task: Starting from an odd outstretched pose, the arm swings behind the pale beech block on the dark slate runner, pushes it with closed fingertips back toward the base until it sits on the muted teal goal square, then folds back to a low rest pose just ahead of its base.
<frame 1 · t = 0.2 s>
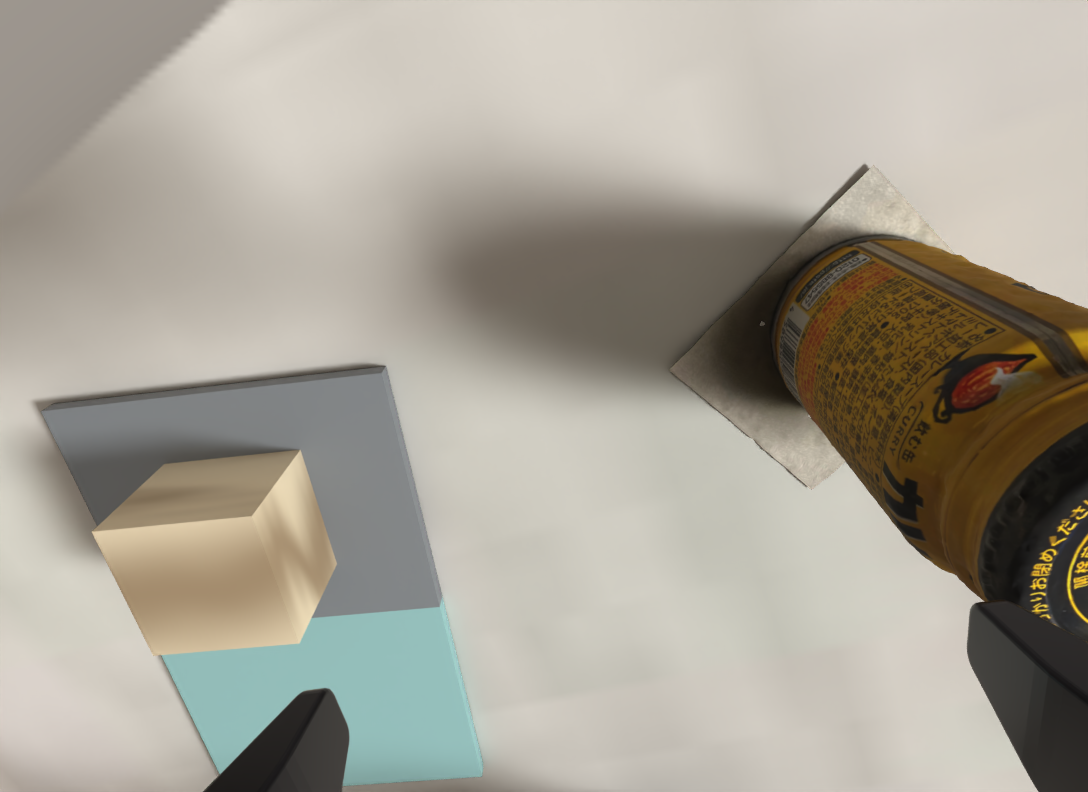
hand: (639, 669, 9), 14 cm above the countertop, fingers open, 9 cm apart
beech block: (253, 515, 24), point 1 cm above the countertop, touching runner mat
runner mat: (297, 609, 27), on the countertop
condiment: (834, 340, 22), on the countertop
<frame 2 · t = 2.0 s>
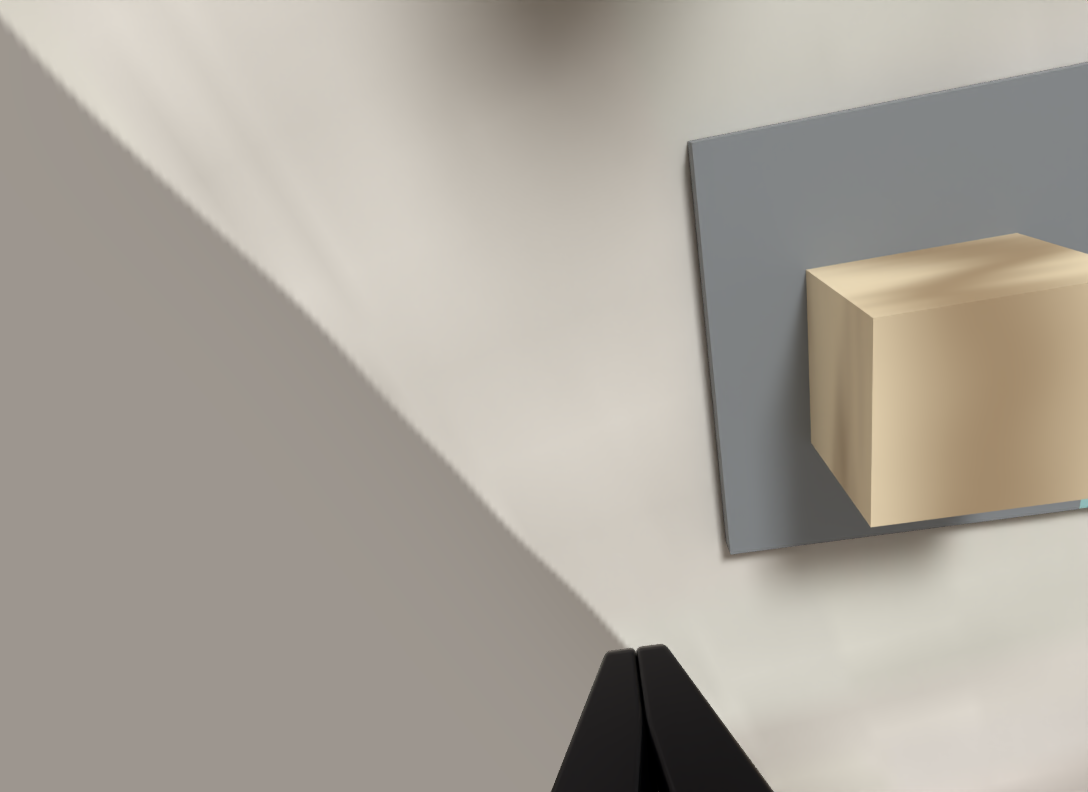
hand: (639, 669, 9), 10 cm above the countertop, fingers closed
beech block: (906, 345, 17), point 1 cm above the countertop, touching runner mat
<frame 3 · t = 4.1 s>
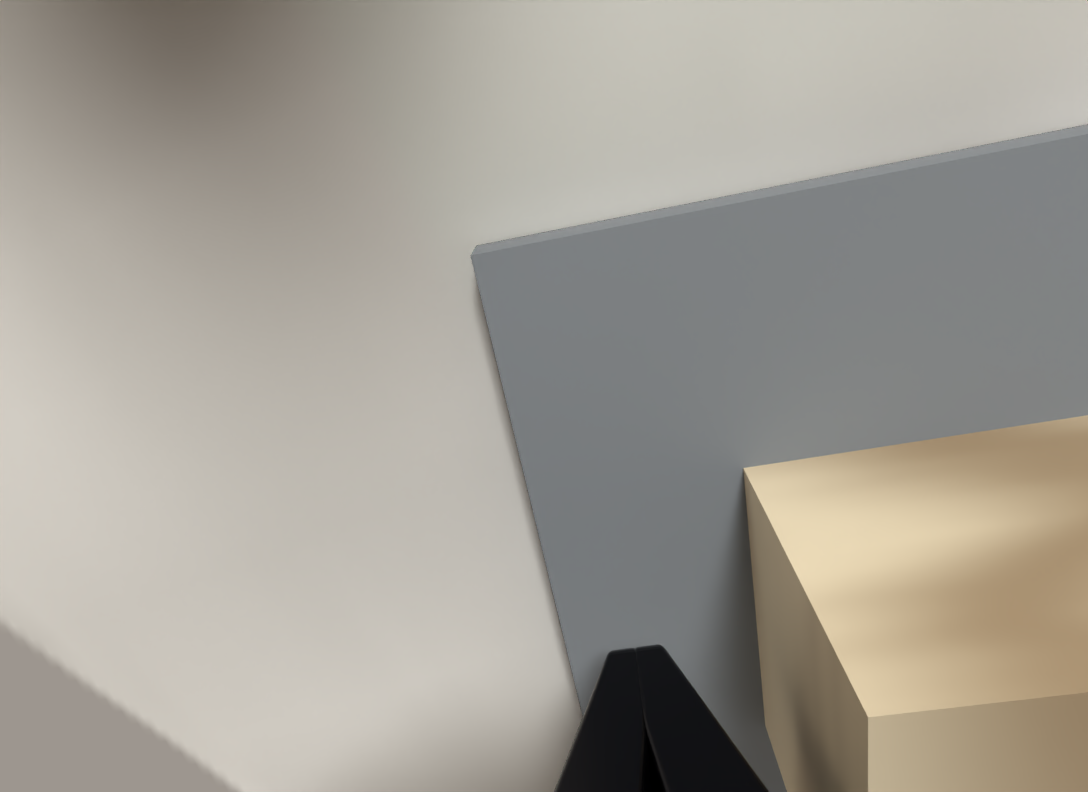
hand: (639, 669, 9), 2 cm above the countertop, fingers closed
beech block: (926, 586, 10), point 1 cm above the countertop, touching gripper, runner mat
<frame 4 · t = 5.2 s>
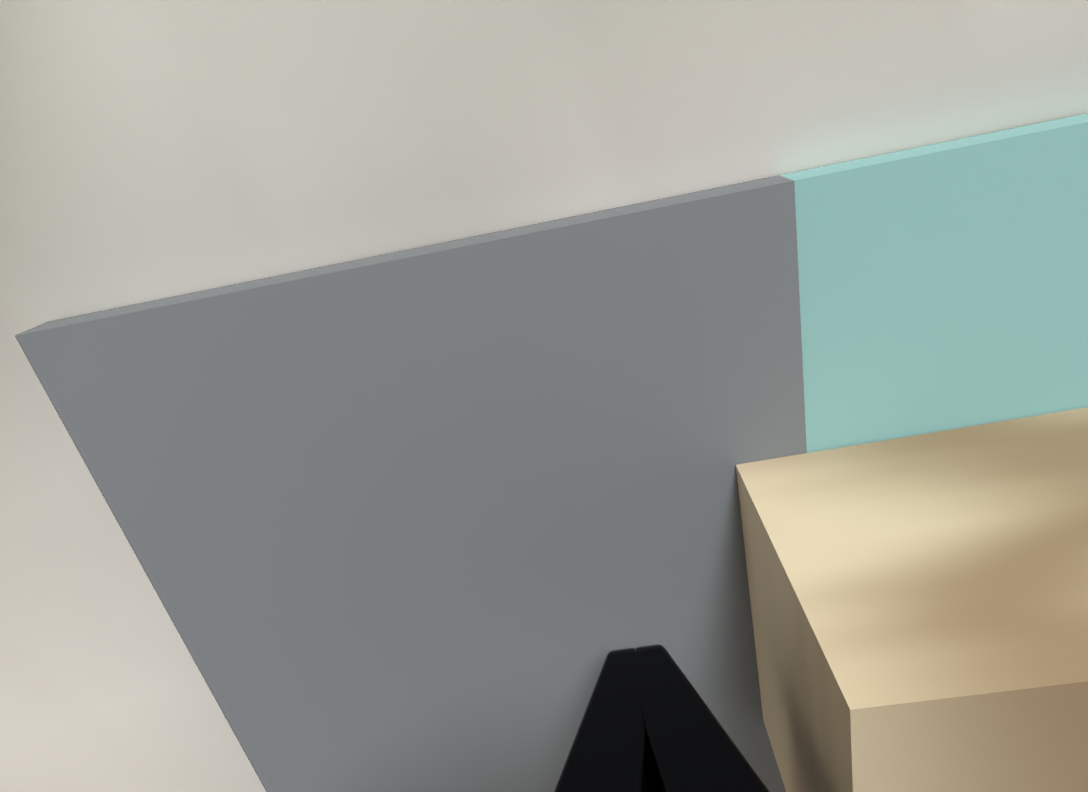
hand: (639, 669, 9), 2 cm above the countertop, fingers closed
beech block: (921, 580, 10), point 1 cm above the countertop, touching gripper
runner mat: (800, 564, 10), on the countertop
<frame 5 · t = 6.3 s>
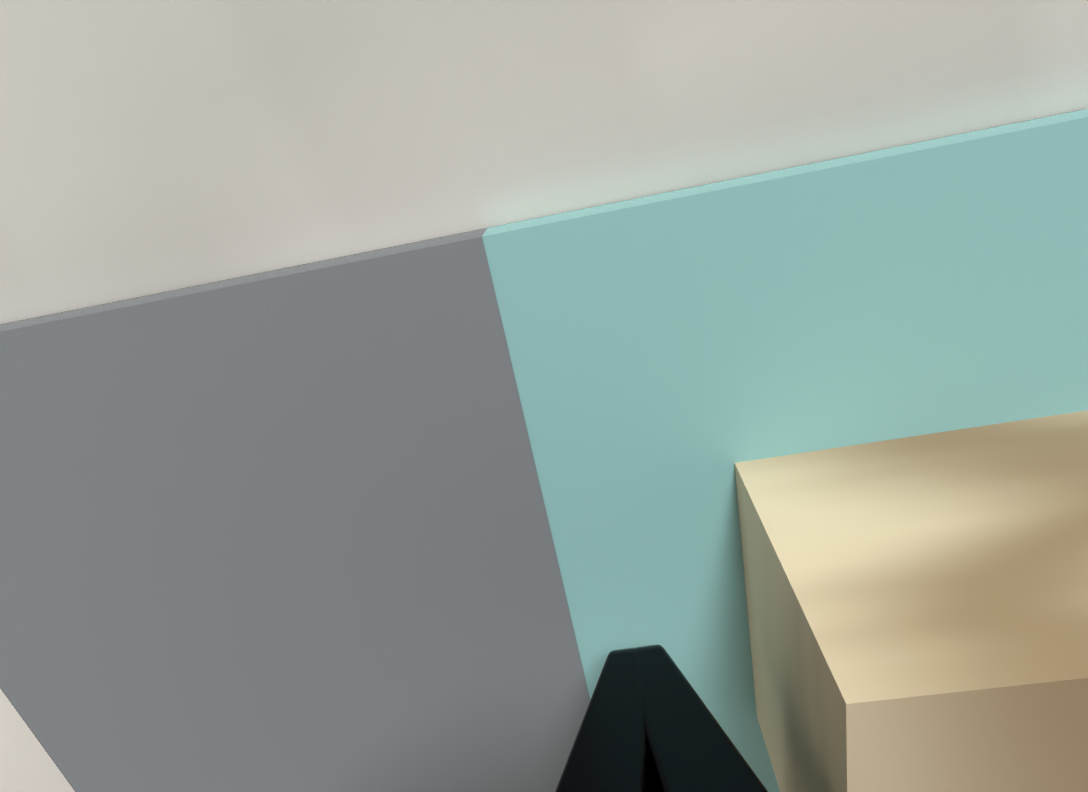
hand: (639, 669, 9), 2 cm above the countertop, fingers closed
beech block: (916, 580, 10), point 1 cm above the countertop, touching gripper, runner mat
runner mat: (570, 590, 11), on the countertop
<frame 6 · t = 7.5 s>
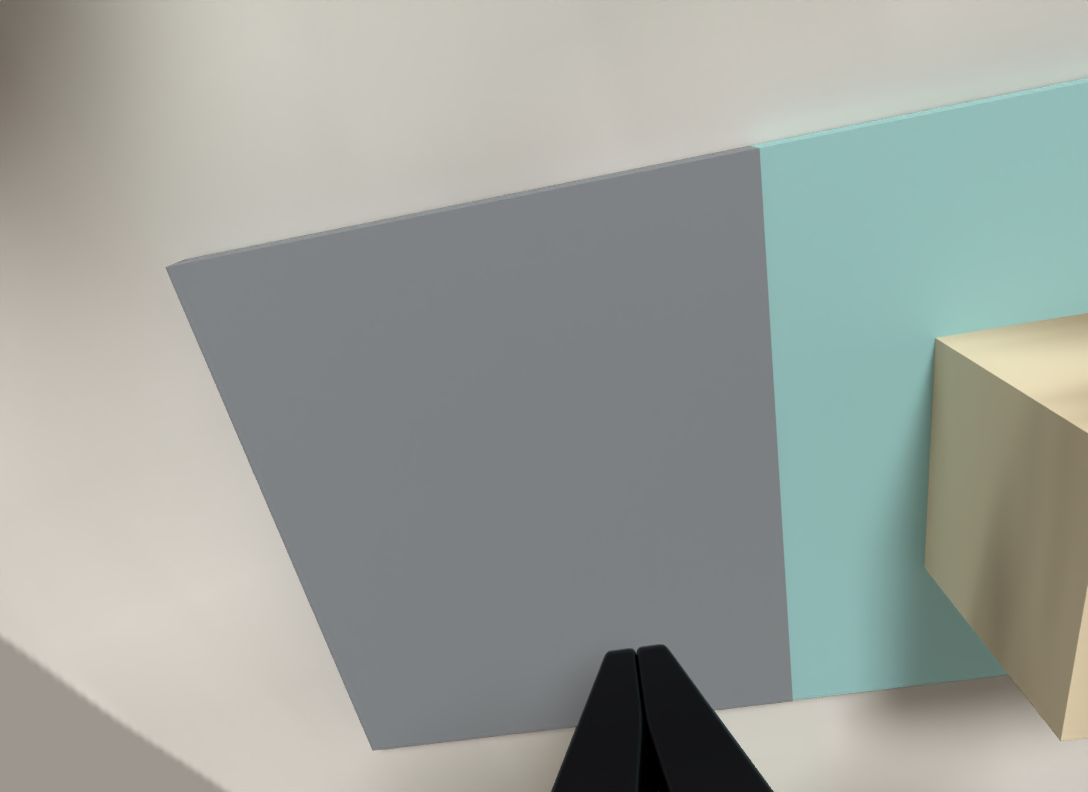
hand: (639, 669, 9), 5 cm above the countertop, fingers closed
beech block: (1069, 441, 12), point 1 cm above the countertop, touching runner mat
runner mat: (770, 460, 13), on the countertop
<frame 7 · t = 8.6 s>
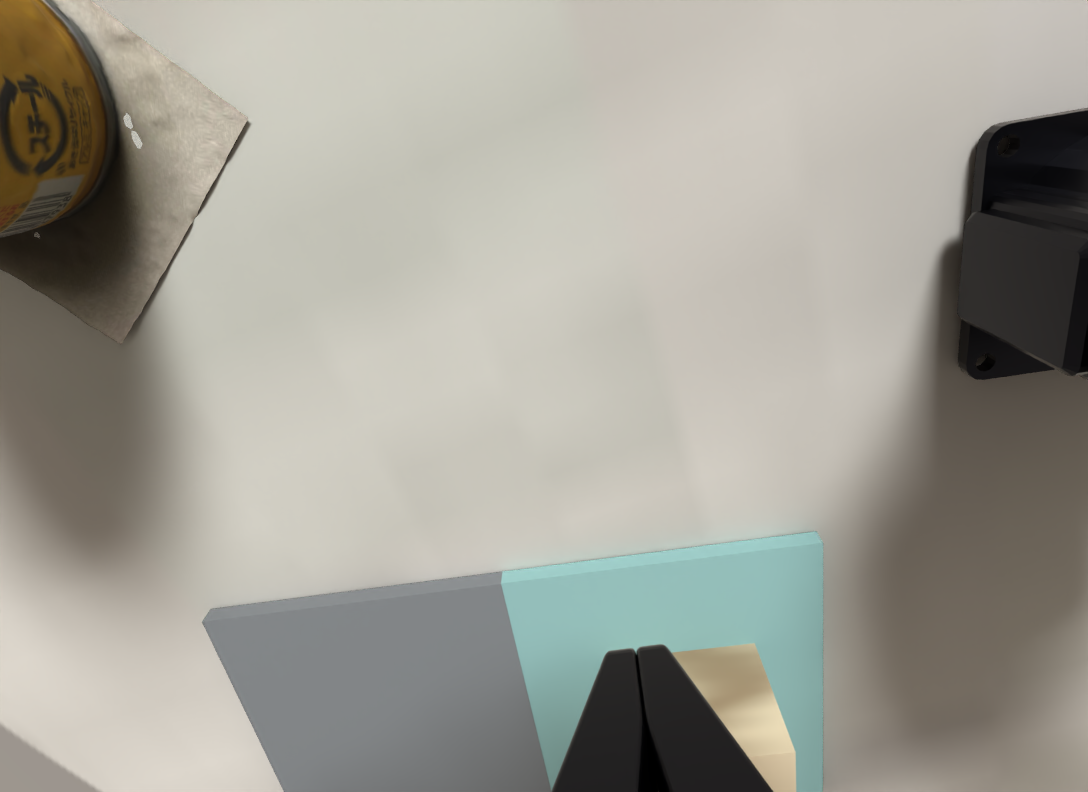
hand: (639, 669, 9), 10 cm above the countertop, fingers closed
beech block: (684, 705, 23), point 1 cm above the countertop, touching runner mat
runner mat: (534, 704, 24), on the countertop
condiment: (34, 129, 16), on the countertop
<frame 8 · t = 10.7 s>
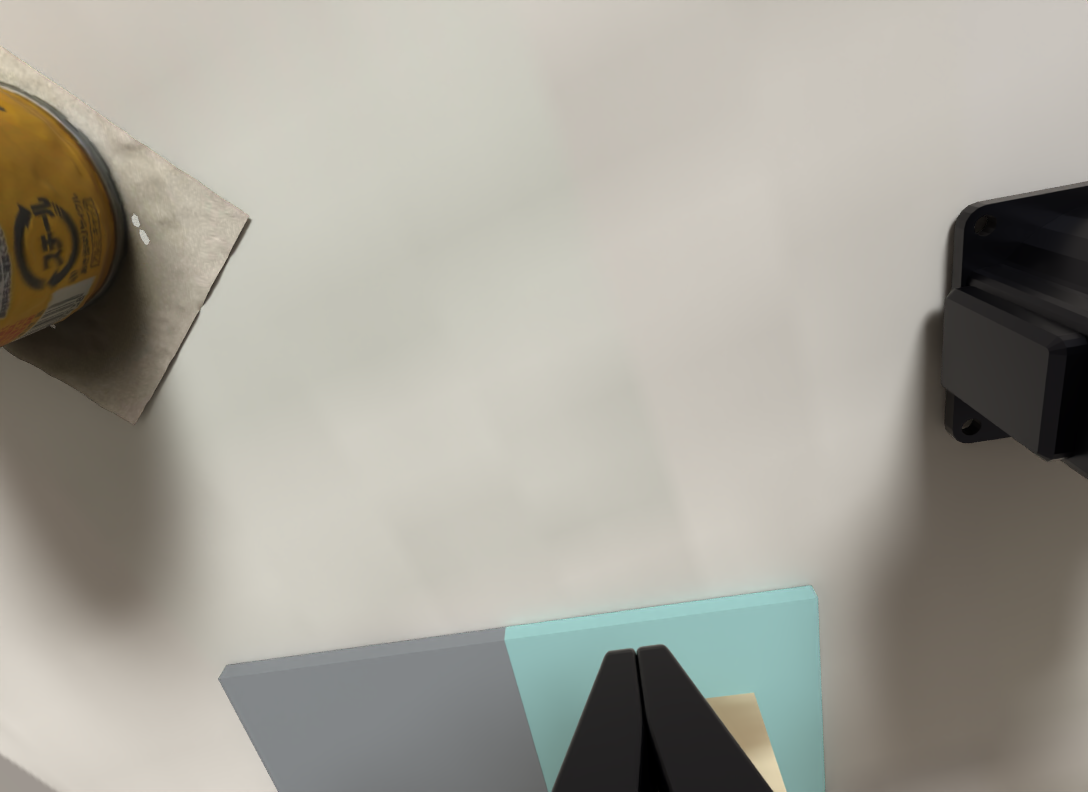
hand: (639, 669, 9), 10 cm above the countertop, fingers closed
beech block: (687, 751, 23), point 1 cm above the countertop, touching runner mat
runner mat: (540, 750, 24), on the countertop
condiment: (47, 229, 17), on the countertop
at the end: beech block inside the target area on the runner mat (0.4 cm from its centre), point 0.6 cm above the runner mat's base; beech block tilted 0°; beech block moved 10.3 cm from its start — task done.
